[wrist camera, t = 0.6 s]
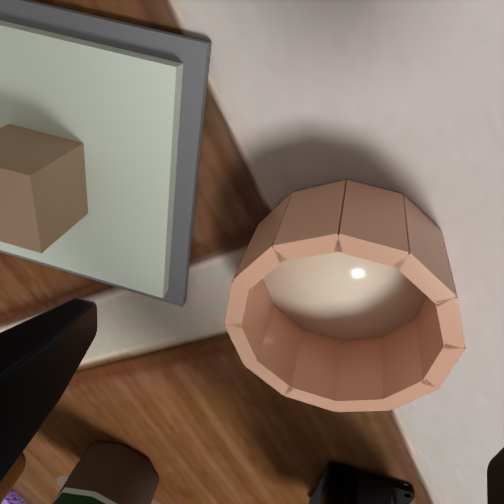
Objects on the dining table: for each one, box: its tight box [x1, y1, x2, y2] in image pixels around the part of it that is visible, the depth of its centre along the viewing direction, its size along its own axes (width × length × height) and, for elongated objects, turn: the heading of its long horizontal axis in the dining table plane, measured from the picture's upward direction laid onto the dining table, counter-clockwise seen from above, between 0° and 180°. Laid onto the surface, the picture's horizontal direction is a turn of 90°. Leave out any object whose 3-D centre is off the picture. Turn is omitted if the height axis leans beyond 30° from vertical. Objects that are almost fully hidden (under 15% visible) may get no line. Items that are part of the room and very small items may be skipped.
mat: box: [0, 0, 211, 307], centre depth 23 cm, size 15×15×1 cm
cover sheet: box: [0, 20, 183, 298], centre depth 21 cm, size 13×13×5 cm
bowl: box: [224, 180, 466, 412], centre depth 21 cm, size 10×10×5 cm
